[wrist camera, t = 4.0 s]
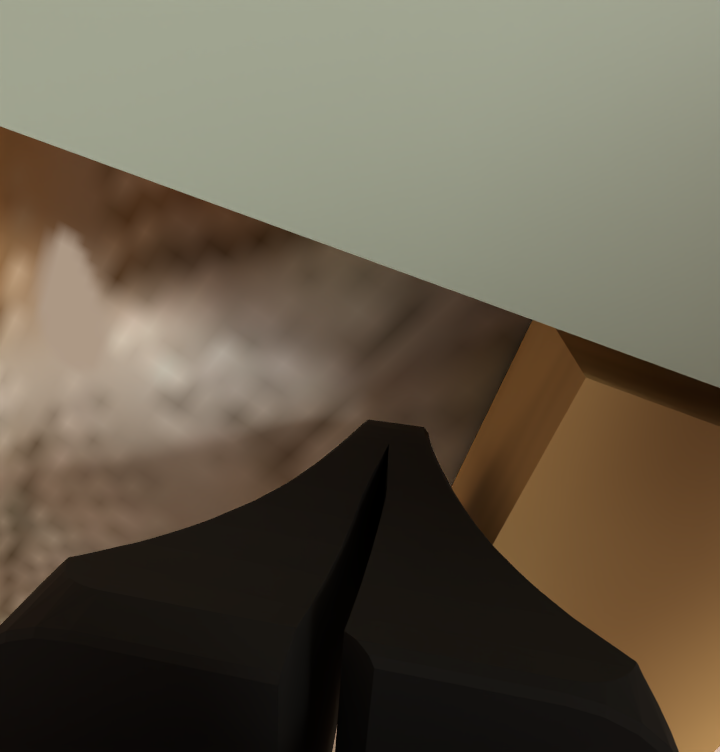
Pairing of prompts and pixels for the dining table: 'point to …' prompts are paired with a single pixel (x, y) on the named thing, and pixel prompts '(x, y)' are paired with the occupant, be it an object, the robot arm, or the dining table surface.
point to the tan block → (612, 508)
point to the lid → (421, 139)
